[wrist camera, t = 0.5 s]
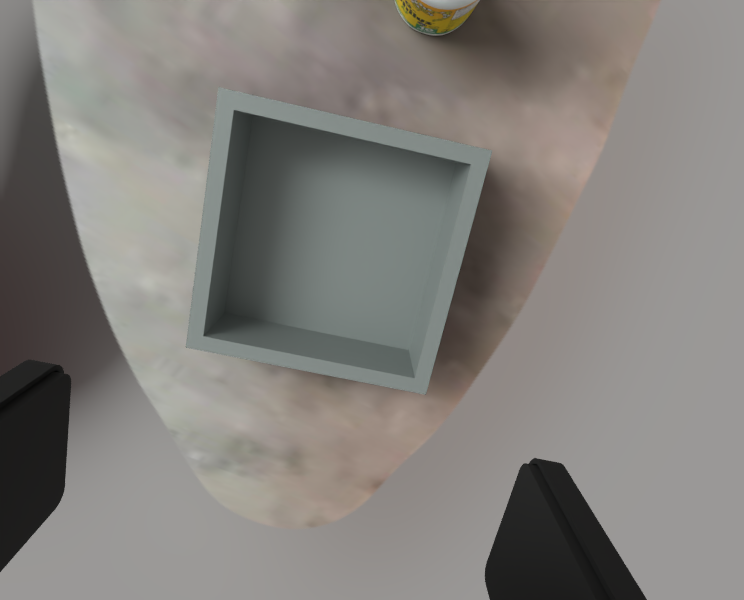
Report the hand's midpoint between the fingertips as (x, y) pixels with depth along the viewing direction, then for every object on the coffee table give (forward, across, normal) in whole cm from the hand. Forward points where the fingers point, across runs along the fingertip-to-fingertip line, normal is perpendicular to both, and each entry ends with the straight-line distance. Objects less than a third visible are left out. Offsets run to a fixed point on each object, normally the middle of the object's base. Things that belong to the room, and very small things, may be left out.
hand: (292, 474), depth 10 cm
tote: (+28, +1, 0) cm, 28 cm away
